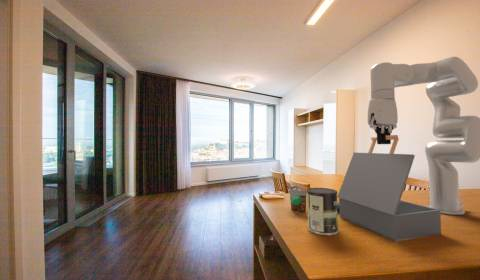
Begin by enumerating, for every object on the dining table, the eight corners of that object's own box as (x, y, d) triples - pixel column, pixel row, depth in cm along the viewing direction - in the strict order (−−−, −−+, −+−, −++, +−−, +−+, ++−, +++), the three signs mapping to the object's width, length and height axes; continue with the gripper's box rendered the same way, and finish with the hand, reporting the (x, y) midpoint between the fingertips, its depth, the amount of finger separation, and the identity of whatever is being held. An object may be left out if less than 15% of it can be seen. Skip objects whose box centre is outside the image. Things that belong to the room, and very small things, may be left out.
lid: (360, 138, 93) (357, 136, 93) (421, 135, 70) (417, 132, 69) (338, 197, 90) (335, 195, 89) (395, 216, 66) (390, 213, 65)
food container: (285, 206, 106) (285, 186, 106) (297, 205, 107) (296, 185, 107) (293, 214, 94) (293, 191, 94) (307, 213, 94) (306, 191, 95)
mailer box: (377, 212, 94) (377, 194, 94) (441, 234, 71) (440, 210, 71) (339, 217, 89) (339, 198, 89) (395, 242, 66) (394, 216, 66)
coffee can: (337, 226, 79) (336, 188, 80) (339, 237, 70) (338, 194, 70) (308, 223, 83) (307, 186, 83) (306, 233, 73) (305, 192, 74)
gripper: (389, 99, 87) (390, 144, 87) (358, 97, 83) (359, 144, 83) (408, 95, 80) (409, 144, 80) (374, 92, 76) (376, 144, 75)
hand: (383, 143), depth 81 cm, fingers closed on lid
